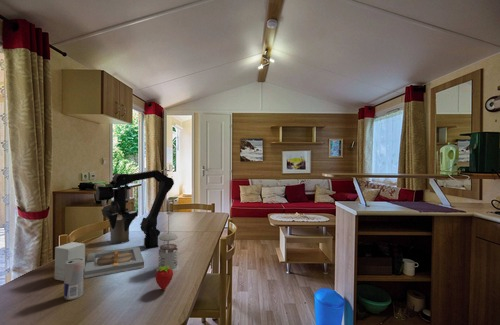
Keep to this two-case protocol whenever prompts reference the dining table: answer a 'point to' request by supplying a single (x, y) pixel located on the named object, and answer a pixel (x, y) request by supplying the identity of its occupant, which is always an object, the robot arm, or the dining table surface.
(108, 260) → the dial
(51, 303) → the dining table surface
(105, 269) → the dial plate
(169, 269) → the strawberry
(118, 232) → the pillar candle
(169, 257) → the french press
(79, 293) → the energy drink
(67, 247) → the supplement box
